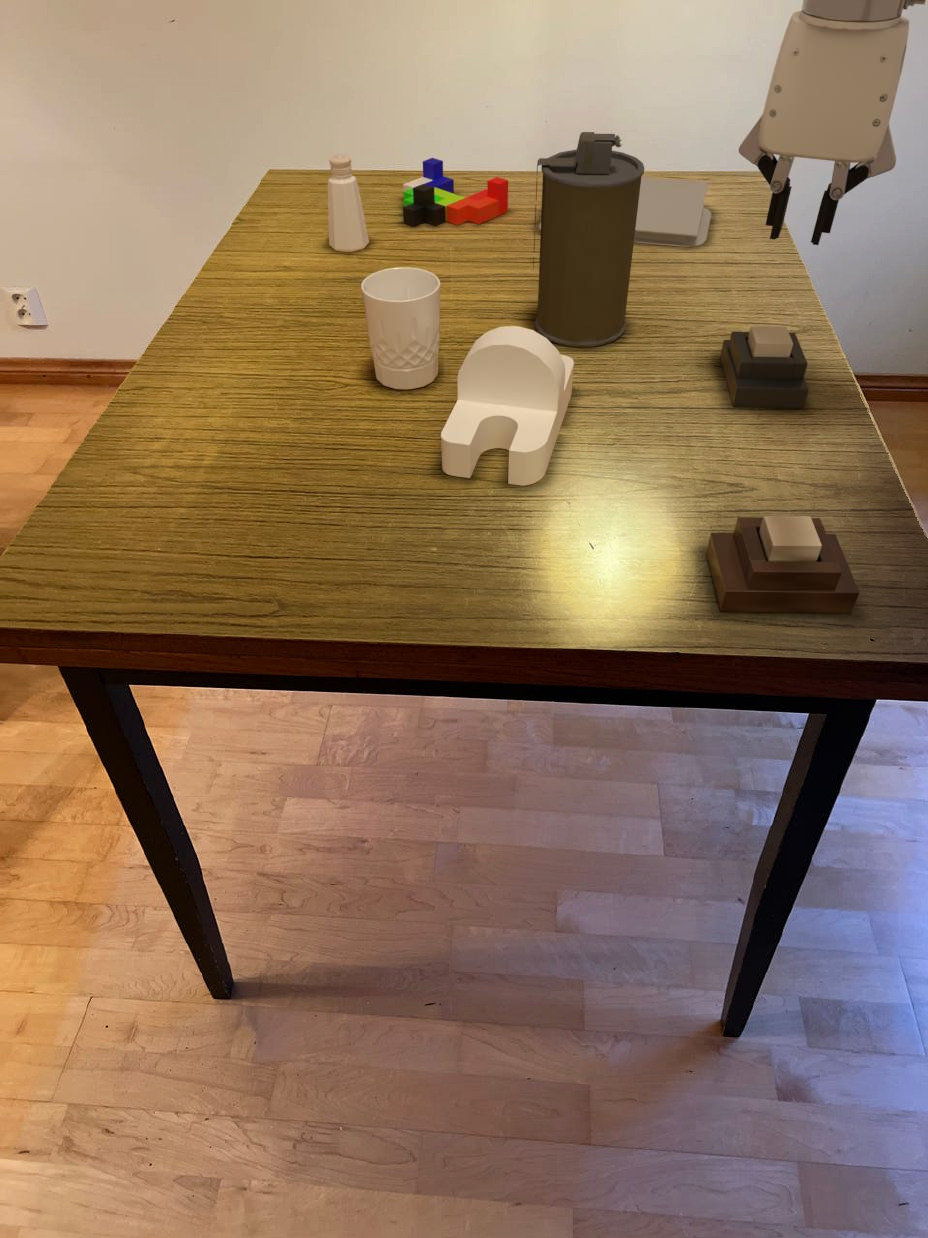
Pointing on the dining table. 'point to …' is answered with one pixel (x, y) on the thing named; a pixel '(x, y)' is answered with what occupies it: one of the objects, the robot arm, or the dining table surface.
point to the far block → (764, 375)
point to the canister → (586, 241)
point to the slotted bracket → (508, 404)
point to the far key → (769, 342)
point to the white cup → (403, 325)
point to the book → (671, 212)
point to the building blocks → (450, 199)
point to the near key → (790, 538)
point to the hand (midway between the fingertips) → (796, 234)
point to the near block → (778, 574)
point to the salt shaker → (345, 208)
